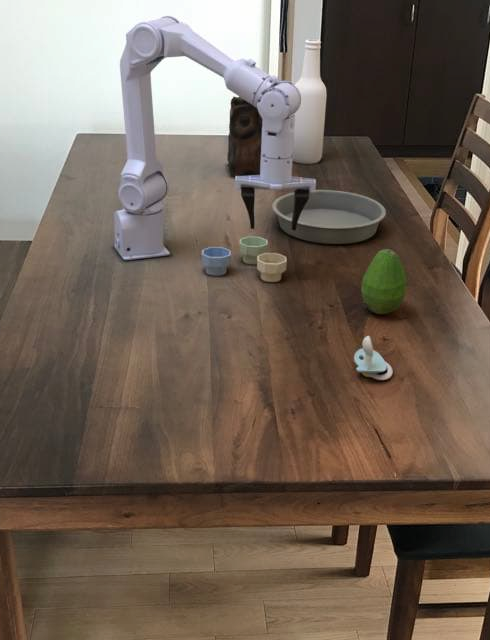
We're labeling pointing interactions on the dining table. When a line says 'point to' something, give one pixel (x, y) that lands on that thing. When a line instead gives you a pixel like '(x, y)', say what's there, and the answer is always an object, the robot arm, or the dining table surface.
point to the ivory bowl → (271, 266)
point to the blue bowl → (216, 260)
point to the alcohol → (310, 108)
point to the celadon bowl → (252, 248)
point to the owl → (244, 139)
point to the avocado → (384, 283)
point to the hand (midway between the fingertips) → (273, 227)
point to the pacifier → (371, 362)
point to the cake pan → (331, 217)
